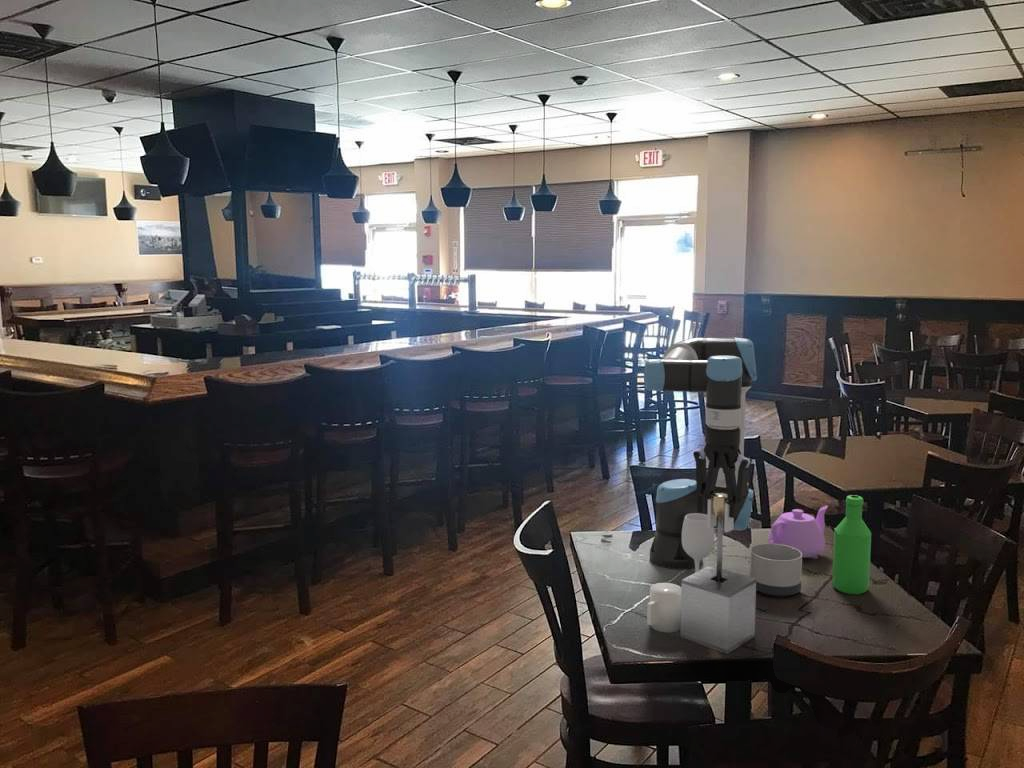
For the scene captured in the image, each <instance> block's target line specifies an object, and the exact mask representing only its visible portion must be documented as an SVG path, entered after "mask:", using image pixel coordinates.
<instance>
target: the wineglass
mask: <svg viewBox="0 0 1024 768" xmlns="http://www.w3.org/2000/svg"><path fill="white" fill-rule="evenodd" d="M714 544H715V529H714V528H713V527H712V528H707V515H706V514H700V513H692V514H687V515H686V516H685V518H684V522H683V527H682V546H683V549H684V550H685V552H686V553H687V554H688V555H689V556H690V557H692V558H693V559H694V561H695V567H694V570H695V571H694V573H696V572H698V571H700V565H699V564H700V560H701V559H702V558H703V559H705V558H706V557H707V556H709V555H710V554H711V553H712V551H713V549H714V546H715V545H714Z"/></svg>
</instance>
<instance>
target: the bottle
mask: <svg viewBox="0 0 1024 768" xmlns="http://www.w3.org/2000/svg"><path fill="white" fill-rule="evenodd" d="M845 503H846V504H845V505H846V506H845V517H843V519H842V520H841V521H840V523H839V524H838V525H837V526H836V527H835V529H834V531H833V532H834V538H833V555H832V556H833V558H832V559H833V560H832V579H831V580H832V581H831V582H832V586H833V587H834V588H835V589H836V590H838V591H839V592H841V593H844V594H848V595H862V594H863V593H865V592H868V591H869V587H870V586H869V585H870V570H871V569H870V568H871V553H872V552H871V547H872V532H871V530H870V529H869V528H868V526H867V524H866V523H865V521H864V520H863V505H864V498H863V497H862V496H859V495H857V494H854V495H853V494H850V495H847V496H846V499H845Z"/></svg>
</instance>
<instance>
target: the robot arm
mask: <svg viewBox="0 0 1024 768" xmlns="http://www.w3.org/2000/svg"><path fill="white" fill-rule="evenodd" d="M643 374H644V376H643V377H644V379H643V381H644V387H645V389H646V390H647V391H650V392H651V391H653V392H658V393H659V392H660V393H661V392H683V393H684V392H685V393H687V392H688V393H705V399H706V400H705V401H706V402H705V424H706V427H705V429H704V433H705V434H704V442H705V445H704V447H703V449H699V450H695V451H694V452H693V454H692V455H693V458H694V461H695V476H696V479H689V478H679V479H678V478H676V479H671V480H667V481H664V482H662V483H661V484H659V485H658V487H657V489H656V498H655V503H656V509H655V510H656V514H655V515H656V516H655V534H654V538H653V541H652V544H651V547H650V549H649V560H650V561H651V562H652V563H653V564H655V565H657V566H659V567H663V568H668V569H674V570H677V569H678V570H682V569H683V570H686V569H692V568H695V561H694V559H693V558H692V557H690V556H689V555H688V554H687V553H686V552H685V550H684V549H683V546H682V527H683V522H684V518H685V516H686V515H687V514H692V513H700V514H706V515H707V528H712V527H713V528H714V530H716V529H717V527H718V517H717V516H714V515H712V505H713V494H716V493H723V494H727V496H728V502H727V503H725V517H723V533H730V532H731V531H744V530H746V529H747V528H748V527H749V522H750V519H751V514H752V508H753V500H754V494H755V493H754V490H753V489H751V488H749V469H750V466H751V465H752V462H753V460H752V458H750V457H746V456H745V455H744V454H745V453H744V452H745V449H744V448H745V426H746V425H745V418H746V393H747V392H748V391H749V390H750V389H752V382H755V381H756V380H758V375H757V366H756V356H755V347H754V343H753V341H752V340H751V339H749V338H743V337H692V338H688V339H684V340H680V341H678V342H675V343H673V344H672V345H670V346H669V347H668V348H667V349H666V350H665V351H664V353H663V355H662V359H660V358H656V359H655V358H654V359H648V360H647V361H646V362H645V365H644V373H643ZM707 459H708V467H707ZM707 470H708V471H707ZM703 559H704V558H702V559H701V560H700V564H699V566H701V565H702V564H703V561H704V560H703Z"/></svg>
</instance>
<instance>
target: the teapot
mask: <svg viewBox="0 0 1024 768" xmlns="http://www.w3.org/2000/svg"><path fill="white" fill-rule="evenodd" d="M828 508H829V506H828V505H823V506H821V507H820V508H819V509H818V512H817V515H816V518H815V517H814V516H813V515H811V514H809V513H804V510H803V509H801V508H800V509H799V508H796V509H792V510H791V511H789V512H784V513H781V514H780V515H779V517H778V518H777V519H776V520H775V521H774V523H773V524H772V525H771V529H770V531H769V534H768V544H781V545H786V546H790V547H793V548H796V549H798V550H799V551H800V552H801V553H802V559H803V558H809V559H811V558H812V559H813V560H818V559H819V556H818V555H820V554H821V553H822V552H823V551H824V550H825V547H826V540H825V534H824V532H825V527H826V526H825V525H826V524H825V512H826V510H827V509H828ZM817 558H818V559H817Z"/></svg>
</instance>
